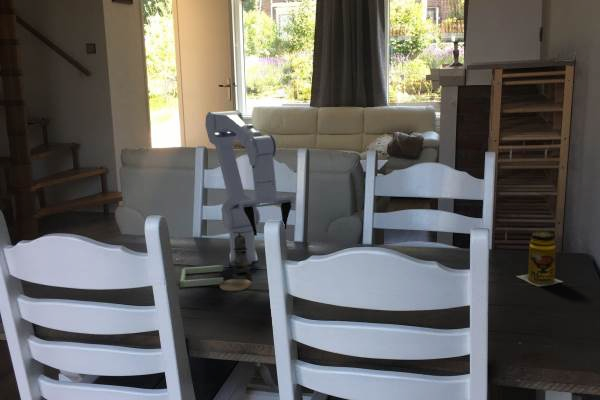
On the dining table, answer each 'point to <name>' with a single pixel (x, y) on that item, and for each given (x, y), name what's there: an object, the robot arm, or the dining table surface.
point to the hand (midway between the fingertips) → (270, 233)
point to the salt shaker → (241, 259)
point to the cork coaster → (235, 284)
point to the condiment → (541, 260)
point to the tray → (200, 281)
